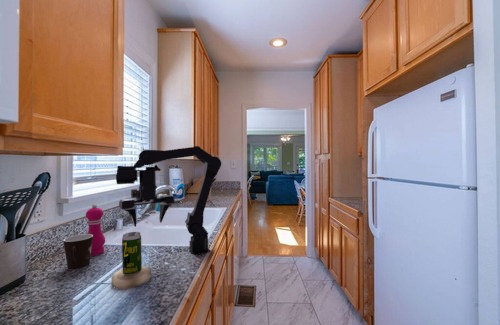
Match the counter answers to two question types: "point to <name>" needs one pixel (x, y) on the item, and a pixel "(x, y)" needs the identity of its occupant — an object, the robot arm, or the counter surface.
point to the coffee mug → (78, 250)
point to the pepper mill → (95, 229)
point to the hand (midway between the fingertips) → (148, 224)
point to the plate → (131, 279)
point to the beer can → (131, 254)
